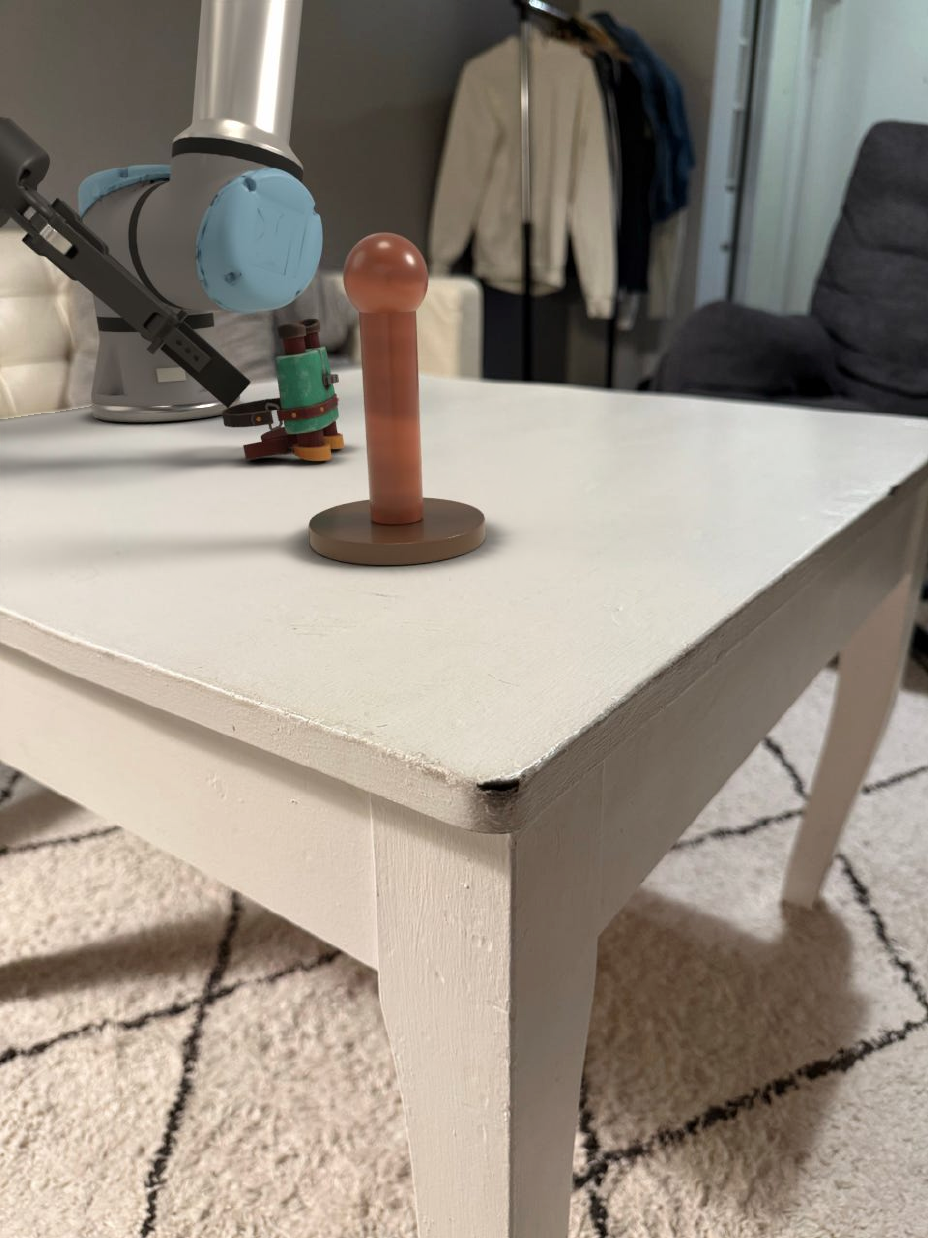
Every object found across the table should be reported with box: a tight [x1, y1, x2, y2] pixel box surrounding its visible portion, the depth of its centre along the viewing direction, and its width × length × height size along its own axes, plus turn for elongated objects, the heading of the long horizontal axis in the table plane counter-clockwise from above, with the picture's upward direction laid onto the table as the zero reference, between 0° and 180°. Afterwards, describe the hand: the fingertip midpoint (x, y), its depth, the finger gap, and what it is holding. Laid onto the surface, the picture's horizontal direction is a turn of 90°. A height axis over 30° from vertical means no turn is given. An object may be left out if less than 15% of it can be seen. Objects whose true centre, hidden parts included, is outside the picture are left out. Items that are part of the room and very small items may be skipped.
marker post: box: [308, 231, 486, 566], centre depth 49 cm, size 10×10×16 cm
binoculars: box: [221, 318, 345, 462], centre depth 74 cm, size 9×11×10 cm
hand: (238, 394), depth 72 cm, fingers closed
